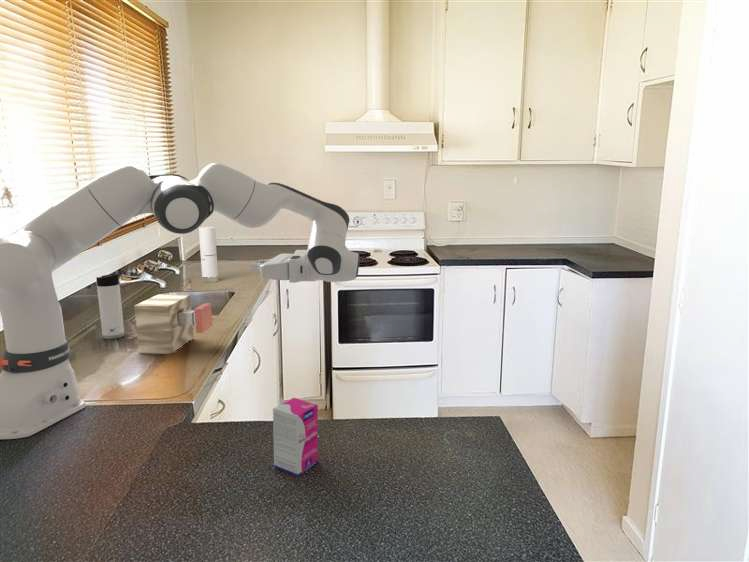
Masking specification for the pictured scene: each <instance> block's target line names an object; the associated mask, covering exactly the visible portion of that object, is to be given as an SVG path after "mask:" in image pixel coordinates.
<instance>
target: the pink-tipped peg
mask: <svg viewBox="0 0 749 562" xmlns="http://www.w3.org/2000/svg"><path fill="white" fill-rule="evenodd" d="M212 312H213V311H212V303H211V302H204V303H203V304H200V305H198V306H197V307H196V308H194V310H193V309H191V310H180V311H178V312H177V318H178V324H188V325H192V326H195V332H196V334H197V333H198V334H203V333H205V332H206V331H208V330H209V329H210V328H211V327H213V313H212Z"/></svg>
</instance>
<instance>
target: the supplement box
mask: <svg viewBox="0 0 749 562" xmlns="http://www.w3.org/2000/svg"><path fill="white" fill-rule="evenodd" d="M318 411H319V407H318V404H317V403H312V402H309V401H306V400H303V399H299V398H296V397H293V398H290V399H289V400H287V401H285V402H283V403H281V404H279V405H277V406H275V407H273V408H272V422H273V423H272V424H273V425H272V428H273V429H272V430H273V432H272V433H273V468H274V467H276V468H278V469H280V470H279V471H281V470H283V471H282V472H284V471H285V472H284V473H286V472H287V474H289V473H290V474H289V475H291V474H292V475H291V476H295V477H297V476H298V477H300V476H301V475H302V474H303V473H305V472H307V470H309V469H310V468H312V467H313V466H315V465H316V464H318V462H319V459H318V457H319V456H318V453H319V449H318V448H319V447H318V446H319V440H318V439H319V438H318V437H319V434H318V433H319V432H318V429H319V428H318V427H319V426H318V425H319V422H318V421H319V418H318V417H319V416H318V415H319V412H318ZM314 464H315V465H314ZM276 468H275V469H276ZM278 469H277V470H278Z"/></svg>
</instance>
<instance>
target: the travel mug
mask: <svg viewBox="0 0 749 562" xmlns="http://www.w3.org/2000/svg"><path fill="white" fill-rule="evenodd" d="M119 278H120V277H119V273H111V274H105V275H101V276H100V277H96V287H97V288H96V289H97V298H98V307H99V316H100V325H101V335H102V338H103V339H105V340H114V339H119V338H123V337H124V336H125V325H124V317H123V308H122V306H123V305H122V298H121V297H122V296H121V287H120V279H119Z"/></svg>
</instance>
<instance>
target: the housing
mask: <svg viewBox="0 0 749 562" xmlns="http://www.w3.org/2000/svg"><path fill="white" fill-rule="evenodd" d="M191 301H192V300H191V295H190V294H164V293H159V294H156V295H154V296H152V297H150V298H148V299H145V300H143V301H141V302H139V303H137V304H134V306H133V307H134V315H135V316H134V317H135V328H136V329H135V330H136V337H137V349H138V354H156V355H157V354H158V355H161V354H162V355H163V354H164V355H173V354H174V353H176V352H177V351H178V350H177V349H179V348H180V347H181V348H183V347H184V346H185V345H184V344H185V343H187V342H188V341H189V340H191V339H192V338H193V339H194V331H193V329H194V328H193V325H188V324H178V318H177V312H178V311H180V310H192V303H191ZM191 341H192V340H191ZM188 343H189V342H188ZM188 343H187V344H188ZM183 345H184V346H183ZM182 346H183V347H182ZM181 348H180V349H181ZM180 349H179V350H180ZM176 350H177V351H176ZM175 351H176V352H175ZM173 352H174V353H173ZM170 353H171V354H170ZM172 353H173V354H172Z"/></svg>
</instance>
